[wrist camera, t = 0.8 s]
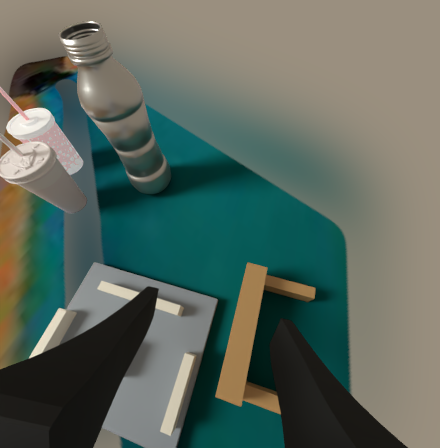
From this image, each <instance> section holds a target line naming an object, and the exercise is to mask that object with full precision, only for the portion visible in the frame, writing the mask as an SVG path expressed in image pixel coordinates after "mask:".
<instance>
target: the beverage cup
mask: <svg viewBox="0 0 440 448" xmlns="http://www.w3.org/2000/svg"><path fill="white" fill-rule="evenodd" d="M0 93H1V94H2V95H3V96H4V97H5V98H6V99H7V100H8V101H9V102H10V104H11V105H12V106H13V107H14V108H15V109H16V110H17V111H18V112H19V114H18V115H16V116H15V117H13V118H12V119H11V120H10V121H9V122H8V125H7V127H6V128H7V131H8V133H10V134H11V135H12V136H13V137H15V138H17V139H19V140H20V141H22V142H23V143H27V142H33V141H39V142H44V143H46V144H48V145H49V146H50V147H51V148H52V149H53V150H54V151H55V152H56V155H57V159H58V160H59V161H60V163H61V164H62V166H63V167H64V168H65V170H66V171H67V172H68V174H69V175H71V174H73V173H75V172H77V171H78V170H80V169H81V167H82V166H83V160H82V158H81V157H80V156H79V155H78V153H77V152H76V150H75V149H74V147H73V146H72V145H71V143H70V142H69V140H68V139H67V138H66V136H65V135H64V133H63V132H62V131H61V129H60V128H59V127H58V125H57V124H56V122H55V119H54V117H53V115H52V114H51V113H50V111H49V110H47V109H44V108H34V109H29V110H26V111H24V112H23V111H22V110H21V109H20V108H19V107H18V106H17V105H16V103H15V102H14V101H13V100H12V99H11V98H10V97H9V96H8V95H7V94H6V92H5V91H4V90H3V89H2V88H1V87H0Z"/></svg>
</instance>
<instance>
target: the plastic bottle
mask: <svg viewBox="0 0 440 448" xmlns="http://www.w3.org/2000/svg"><path fill="white" fill-rule="evenodd" d="M59 38H60V40H61V42H62V44H63V46H64V47H65V49H66V51H67V53H68V57H69V59H70V60H71V62H72V63H73V64H74V65H77V66H78V79H77V92H78V97H79V100H80V103H81V106H82V108H83V109H84V110H85V112H86V113H87V114H88V116H89V117H90V118H91V119H92V120H93V121H94V123H95V124H96V125H97V126H98V127H99V129H100V130H101V131H102V132H103V133H104V135H105V136H106V137H107V139H108V140H109V142H110V143H111V144H112V146H113V147H114V149H115V150H116V152H117V153H118V155H119V157H120V159H121V161H122V163H123V165H124V167H125V169H126V173H127V175H128V178H129V180H130V182H131V184H132V185H133V186H134V187H135V188H136V189H137V190H138V191H139V192H142V193H145V194H156V193H159V192H161V191H163V190H164V189H165V188H166V187H167V186H168V184H169V182H170V180H171V169H170V165H169V164H168V162H167V160H166V158H165V157H164V155H163V154H162V152H161V150H160V148H159V146H158V144H157V142H156V140H155V138H154V135H153V132H152V129H151V126H150V122H149V119H148V115H147V111H146V107H145V102H144V98H143V93H142V90H141V87H140V85H139V83H138V82H137V80H136V79H135V77H134V76H133V75H132V74H131V73H130V72H129V71H128V70H127V69H126V68H125V67H124V66H122V65H121V64H120V63H119V62H117V61H116V60H115V59H114V58H113V57H112V54H113V49H112V47H111V45H110V43H109V42H108V40H107V37H106V35H105V32H104V30H103V28H102V26H101V25H100V24H99V23H97V22H92V21H88V22H80V23H76V24H73V25H70V26H68V27H66V28H64V29H63V30H62V31H60V33H59Z"/></svg>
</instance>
